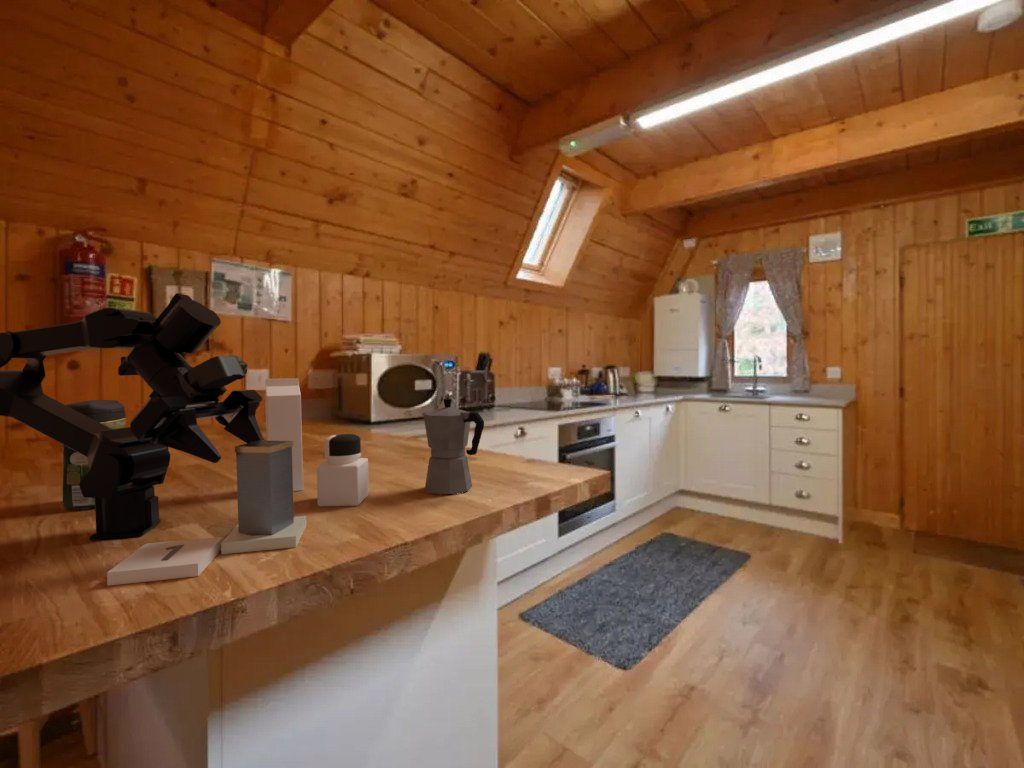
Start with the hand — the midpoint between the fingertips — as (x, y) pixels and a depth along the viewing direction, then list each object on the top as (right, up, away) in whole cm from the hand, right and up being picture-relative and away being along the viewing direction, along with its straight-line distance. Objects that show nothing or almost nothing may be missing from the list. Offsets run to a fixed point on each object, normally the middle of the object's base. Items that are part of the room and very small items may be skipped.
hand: (242, 454), depth 68 cm
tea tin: (+3, -10, 0) cm, 11 cm away
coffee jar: (-37, -12, +18) cm, 42 cm away
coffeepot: (+27, -11, +26) cm, 39 cm away
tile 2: (+4, -12, 0) cm, 12 cm away
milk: (-7, -11, +27) cm, 30 cm away
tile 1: (-4, -12, -9) cm, 16 cm away
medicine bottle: (+8, -11, +19) cm, 23 cm away
